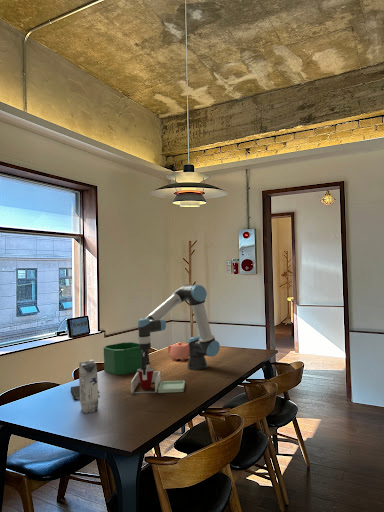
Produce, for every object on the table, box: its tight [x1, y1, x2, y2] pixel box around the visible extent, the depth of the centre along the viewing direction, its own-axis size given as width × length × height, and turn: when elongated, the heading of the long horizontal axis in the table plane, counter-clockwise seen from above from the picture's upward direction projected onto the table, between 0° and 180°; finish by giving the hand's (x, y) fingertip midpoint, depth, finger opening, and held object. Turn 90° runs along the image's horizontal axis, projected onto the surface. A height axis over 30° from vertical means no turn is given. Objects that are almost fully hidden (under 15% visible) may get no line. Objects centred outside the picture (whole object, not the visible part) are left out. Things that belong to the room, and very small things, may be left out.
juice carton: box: [78, 359, 99, 414], centre depth 217 cm, size 9×10×27 cm
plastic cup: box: [137, 367, 155, 390], centre depth 254 cm, size 11×11×12 cm
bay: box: [130, 370, 162, 395], centre depth 254 cm, size 23×16×7 cm
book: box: [70, 385, 100, 401], centre depth 247 cm, size 22×15×3 cm
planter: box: [103, 341, 143, 376], centre depth 304 cm, size 26×26×18 cm
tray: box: [157, 380, 186, 394], centre depth 250 cm, size 18×16×2 cm
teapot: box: [167, 341, 189, 362], centre depth 329 cm, size 22×13×14 cm, turn 71°
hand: (146, 377), depth 254 cm, fingers closed on plastic cup, 11 cm apart
